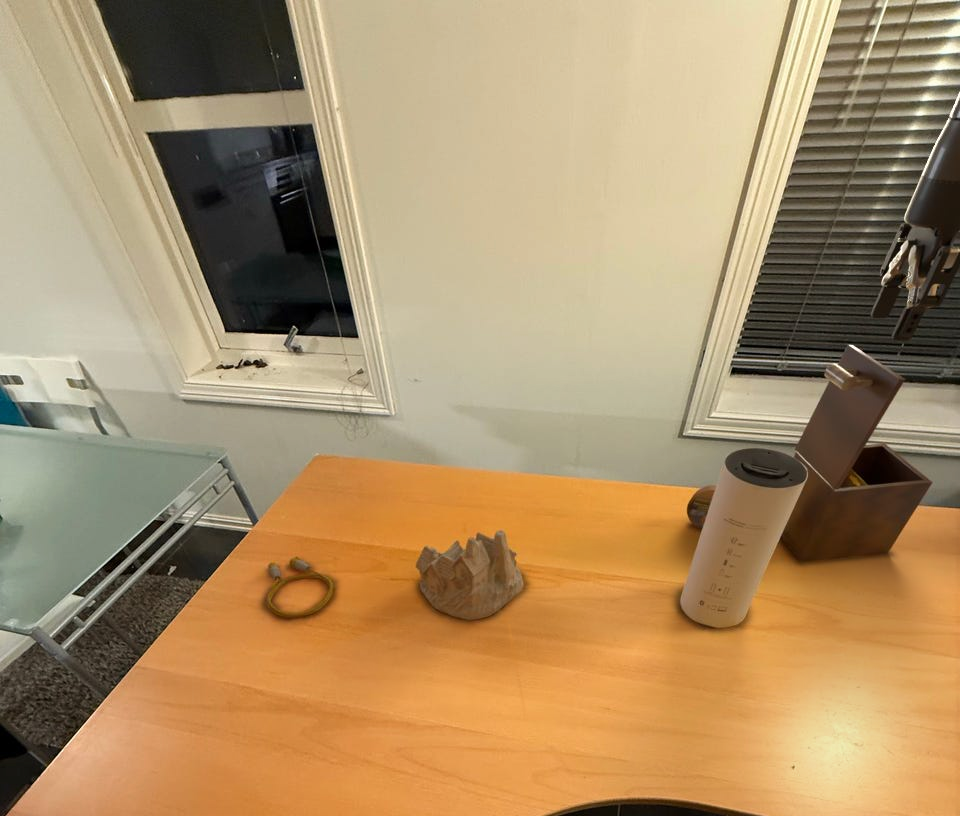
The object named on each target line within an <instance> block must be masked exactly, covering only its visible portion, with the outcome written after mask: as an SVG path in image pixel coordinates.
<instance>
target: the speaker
mask: <svg viewBox="0 0 960 816" xmlns="http://www.w3.org/2000/svg"><path fill="white" fill-rule="evenodd" d="M807 470H808V469H807V468H806V467H805V466H804V465H803V464H802V463H801V462H800V461H799V460H797V459H796V458H794V456H792V455H791V454H789V453H786V452H783V451H780V450H775V449H771V448H766V447H745V448H740V449H737V450H733V451H732V452H731V451H730V453H728V454H727V455H726V456H725V457H724V461H723V463H722V466H721V470H720V474H719V476H718V478H717V482H716V484H715V485H716V488H715V491H714V495H713V498H712V501H711V504H710V507H709V510H708V513H707V517H706V520H705V523H704V526H703V529H701V532H700V536H699V539H698V542H697V544H696V548H695V550H694V551H695V552H694V554H693V558H692V561H691V563H690V566H689V570H688V574H687V576H686V580H685V583H684V586H683V589H682V593H681V594H680V598H679V599H680V600H679V601H680V602H679V603H680V608H681V610H682V611H683V613H684V614H685V615H686V616H687V617H688V618H689V619H691V620H692V621H693V622H694V623H697V624H699V625H701V626H704V627H705V626H706V627H709V628H715V629H716V628H717V629H723V628H724V629H725V628H730V627H734V626H736V625H739V624H740V623H742V622H743V621H744V620H745V618H746V615H747V613H748V612H749V609H750V607H751V606H752V603H753V600H754V598H755V595H756V593H757V591H758V589H759V585H760V584H761V582H762V579H763V577H764V574H765V572H766V571H767V567H768V566H769V563H770V561H771V559H772V557H773V555H774V552H775V550H776V548H777V546H778V543H779V541H780V539H781V535H782V532H783V530H784V528H785V526H786V524H787V521H788V519H789V517H790V515H791V513H792V511H793V508H794V506H795V504H796V502H797V500H798V498H799V495H800V493H801V491H802V489H803V487H804V484H805V482H806V480H807V477H808V472H807Z"/></svg>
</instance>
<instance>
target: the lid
mask: <svg viewBox="0 0 960 816" xmlns="http://www.w3.org/2000/svg"><path fill="white" fill-rule="evenodd" d="M823 374H824V377H825V378H826V379H827V380H828V383H827V384H826V387H825V389H824V391H823V393H822V395H821V397H820V399H819V400H818V402H817V404H816V406H815V409H814V411H813V413H812V414H811V416H810V418H809V421H808V422H807V425H806V426H805V429H804V430H803V431H802V434H801V436H800V438H799V439H798V442H797V444H796V446H795V447H794V450H795V452H798V453H799V454H800V455H801V456H802V457H803V458H804V459H805V460H806V461H807V462H808V463H809V464H810V465H811V466H812V467H813V468H814V469H815V470H816V471H817V472H818V473H819V474H820V475H821V476H822V477H823V478H824V479H825V480H826V481H827V482H828V483H829V484H830V485H831V486H832V487H833V488H834V489H839V488H840V486H841V485H842V483H843V481H844V480H845V478H846V476H847V475H848V473H849V471H850V470H851V468H852V467H853V465H854V463H855V462H856V460H857V458H858V457H859V455H860V453H861V452H862V450H863V448H864V447H865V445H867V443H868V442H869V440H870V439H871V437H872V435H873V433H875V430H876V429H877V427H878V426H879V424H880V422H881V421H882V419H883V417H884V415H885V414H886V412H887V411H888V409H889V407H890V405H891V404H892V402H893V400H894V399H895V398H896V396H897V394H898V392H899V391H900V389H901V387H902V385H903V384H904V382H905V381H906V378H904V377H903V376H901V375H900V374H898V373H897V372H895V371H893V370H892V369H890V368H889V367H887V366H886V365H884V364H882V363H881V362H880V361H878V360H877V359H875V358H873V357H872V356H870V355H868V353H865V352H863V350H861V349H860V348H858V347H856V346H855V345H853V344H847V346H846V347H845V350H844V352H843V353H842V356H841V357H840V359H839V361H838V363H832V364H830V365H829V366H827V368H825V371H824V373H823Z"/></svg>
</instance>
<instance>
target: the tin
mask: <svg viewBox="0 0 960 816" xmlns="http://www.w3.org/2000/svg"><path fill="white" fill-rule="evenodd" d="M716 485H717V484H710V485H709V484H708V485H706V486H703V487H701V488H699V489H697V490H696V492H694V494H693V495H692V496H691V498H690V500H689V501H688V503H687V507H686V514H687V518H688V520H689V522H690V523H691V524H692V525H693V526H694V527H695V528H698V529H701V530H702V529H703V526H704V523H705V520H706V517H707V513H708V510H709V507H710V504H711V501H712V498H713V495H714V491H715V488H716Z"/></svg>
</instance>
